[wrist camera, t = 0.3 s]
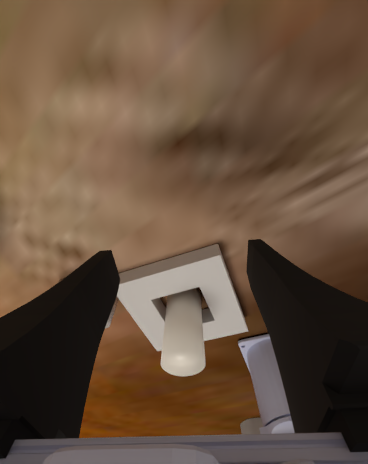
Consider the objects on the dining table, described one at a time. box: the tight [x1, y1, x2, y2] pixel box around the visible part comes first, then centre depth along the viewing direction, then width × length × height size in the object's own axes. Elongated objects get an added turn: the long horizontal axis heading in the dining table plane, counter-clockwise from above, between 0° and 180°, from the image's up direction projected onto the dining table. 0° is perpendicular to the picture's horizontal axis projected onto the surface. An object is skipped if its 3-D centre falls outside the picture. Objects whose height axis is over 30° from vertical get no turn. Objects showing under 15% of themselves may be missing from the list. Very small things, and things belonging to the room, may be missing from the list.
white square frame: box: [117, 244, 248, 351], centre depth 26 cm, size 12×12×2 cm
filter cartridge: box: [161, 288, 205, 376], centre depth 24 cm, size 4×4×8 cm
